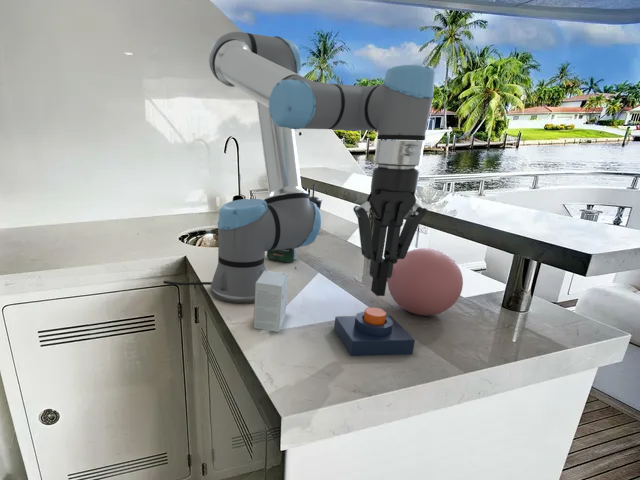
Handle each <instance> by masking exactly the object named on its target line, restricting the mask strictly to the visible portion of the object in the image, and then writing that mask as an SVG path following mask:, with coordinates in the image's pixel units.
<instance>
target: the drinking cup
mask: <svg viewBox="0 0 640 480" xmlns="http://www.w3.org/2000/svg"><path fill="white" fill-rule="evenodd" d="M315 191H316V184H315V183H313V184H312V193H311V194H312V195H311V196H309V201H311V202H313V203H315V204H316V205H317V207H318V208H319V210H320V211H321V206H322V202H323V199H322V198H320V197H317V196H315Z"/></svg>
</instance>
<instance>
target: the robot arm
mask: <svg viewBox="0 0 640 480" xmlns="http://www.w3.org/2000/svg"><path fill="white" fill-rule="evenodd" d="M208 63H209V68H210V71H211V73H212V75H213V76H214V77H215V78H216V79H217V81H219V82H220V83H222V84H223V85H225V86H227V87H230V88H231V87H232V88H233V87H234V88H235V87H236V88H238V89H239V90H241V91H242V92H244V93H245V94H246V95H248V96H250V99H251V100H253V101H254V102H256V106H257V114H258V122H259V129H260V137H261V145H262V152H263V153H262V154H263V160H264V168H265V176H266V182H267V183H266V184H267V191H268V193H267V194H266V196H265V197H264V199H261V198H241V199H236V200H231V201H227V203H224V204H223V205H221V207H220V208H219V211H218V220H217V266H216V267H215V268H216V269H215V272H214V274H213V278H212V280H211V281H191V282H190V281H189V282H184V281H183V282H179V281H172V280H171V281H170V280H163V282H162V283H163V284H168V285H175V286H210V293H211V295H212V296H213V297H214V298H216V299H217V300H220V301H222V302H226V303H231V304H241V305H242V304H253V303H254V304H255V283H256V282H257V280H258V279H259V277H260V276H261V274H262V273H263V271H264V270H265V271H267V269H266V266H265V255H266V252H267V251H271V250H279V249H288V248H297V249H298V248H301V247H307V246H309V245H311V244H313V243H314V242H315V241H316V239H317V237H318V236H319V234H320V231H321V227H322V213H321V209H320V210H319V208H318V207H317V205H316V204H315V203H313V202H311V201H309V197H310V196H309V192H308V191H307V190H305V189H304V188H303V187H302V180H301V173H300V164H299V158H298V149H297V143H296V134H295V130H336V131H337V130H338V131H345V132H357V131H377V135H376V136H377V137H376V145H375V153H374V159H373V163H374V164H375V165H376V167H375V166H374V168H372V176H371V184H370V193H369V194H368V196H367V198H366V201H365V202H364V203H362V204H361V205H355V206H354V207H353V212H354V214H355V216H356V218H357V225H358V232H359V233H358V234H359V241H360V242H359V243H360V250H361V255H362V256H363V257H365V258H366V259H367V260H370V263H369V265H370V267H369V273H368V274H369V276H370V277H371V279H372V280H371V281H372V282H371V287H370V291H371V292H372V293H373V294H374V295H375V296H377V297H385V295H386V290H387V289H386V288H387V284H388V282H387V278H391V276H392V270H393V264H396V263H397V260H398V259H404V258H405V257H406V254H407V252H408V251H409V249H410V247H411V245H412V243H413V240H414V237H415V235H416V233H417V230H418V227H419V225H420V222H421V221H422V220H423V218H424V217H425V216H426V215H427V213H428V209H427V208H426V207H423V206H421V205H419V204H418V203H417V196H416V191H417V189H418V185H419V184H418V183H419V180H420V179H419V178H420V170H419V169H418V168H417V167H419V166H420V165H421V164H422V160H423V159H422V158H423V153H424V147H425V142H426V134H427V133H426V132H427V127H428V124H429V123H428V122H429V117H430V113H431V108H432V104H433V99H434V90H435V78H436V71H435V69H434V68H433V67H432V66H430V65H425V64H402V65H396V66H393V67H391V68H390V67H389V69H387V70H386V73H385V76H384V79H383V83H381V84H374V85H351V84H339V83H327V82H321V81H314V80H311V79H308V78H306V77H304V76H302V75H301V72H300V71H302V57H301V53H300V50H299V48H298V46H297V45H296V44H295V42H293V41H292V40H290V39H287V38H283V37H281V36H278V35H277V36H276V35H275V36H274V35H273V36H270V35H263V34H256V33H250V32H245V31H231V32H228V33H225V34H223V35H220V37H219V38H217V39H216V40H215V42H214V43H213V44H212V46H211V48H210V51H209V55H208ZM371 212H372V214H373V216H374V218H373V219H374V220H373V221H374V227H373V234H372V231H371V221H370V217H369V216H370V214H371ZM406 216H407V217H406ZM405 217H406V219H405ZM404 219H405V222H404ZM401 228H402V229H401ZM372 235H373V236H372Z"/></svg>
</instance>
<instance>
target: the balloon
mask: <svg viewBox="0 0 640 480" xmlns="http://www.w3.org/2000/svg"><path fill="white" fill-rule="evenodd" d="M368 267H369V268H370V264H369V266H368ZM387 286H388V290H389V293H390V295H391V297H392V299H393V301H394V302H395V303H396V304H397V306H399V307H400V308H402V309H403V310H405V311H407V312H409V313H410V314H414V315H417V316H434V315H439V314H441V313H443V312H445V311H448V310H449V309H450V308H451V307H452V306H454V304H456V302H457V301H458V300H459V298H460V296H461V294H462V291H463V286H464V278H463V273H462V270H461V268H460V267H459V265H458V263H457V262H456V261H455V260H454V259H453V258H452V257H451V256H450V255H449V254H447V253H445V252H444V251H442V250H439V249H435V248H432V247H431V248H429V247H419V248H414V249H411V250H408V252H407V254H406V257H405V258H404V259H398V260H397V263H396V264H393V270H392V276H391V278H387Z"/></svg>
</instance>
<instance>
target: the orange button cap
mask: <svg viewBox="0 0 640 480" xmlns="http://www.w3.org/2000/svg"><path fill="white" fill-rule="evenodd" d="M363 312H364V319H363V320H364V321H365V322H367V323H369V324H374V325H383V324H385V319H386V316H387V312H386V311H385V310H384V309H382V308H379V307H373V306H372V307H366V308H365V309H364V311H363Z"/></svg>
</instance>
